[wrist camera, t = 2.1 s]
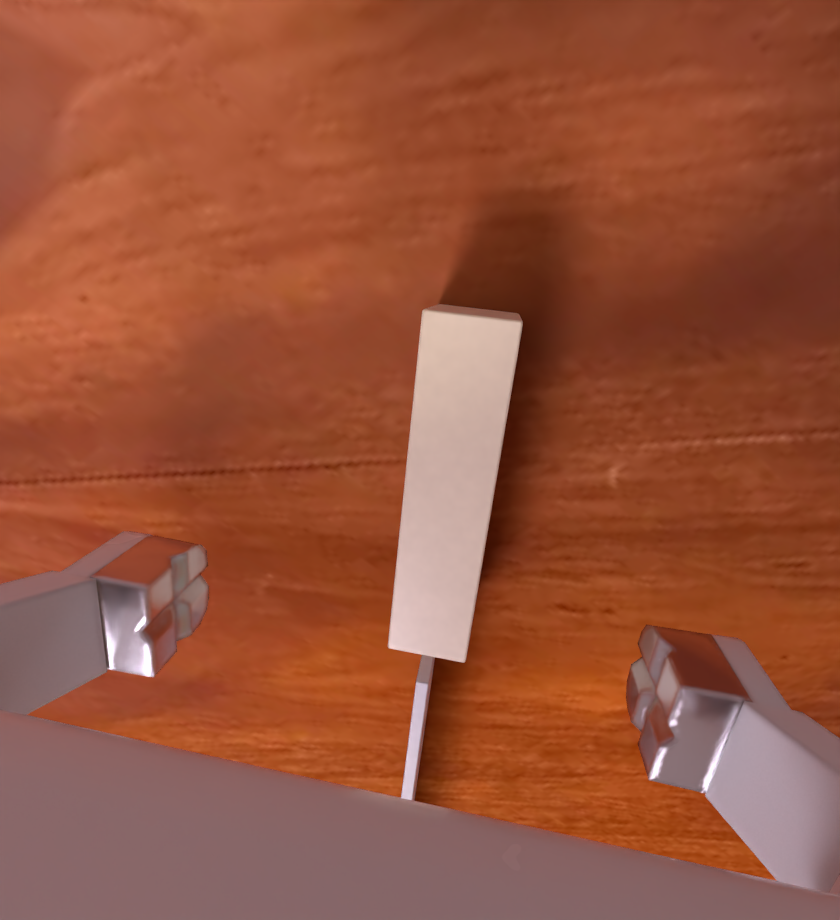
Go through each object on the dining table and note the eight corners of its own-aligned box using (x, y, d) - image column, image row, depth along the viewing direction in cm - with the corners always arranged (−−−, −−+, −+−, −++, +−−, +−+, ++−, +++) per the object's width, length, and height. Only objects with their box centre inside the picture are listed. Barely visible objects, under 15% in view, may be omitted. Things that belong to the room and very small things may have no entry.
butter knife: (437, 303, 15) (422, 308, 12) (519, 313, 15) (523, 320, 12) (377, 839, 23) (359, 917, 20) (430, 852, 23) (419, 933, 20)
